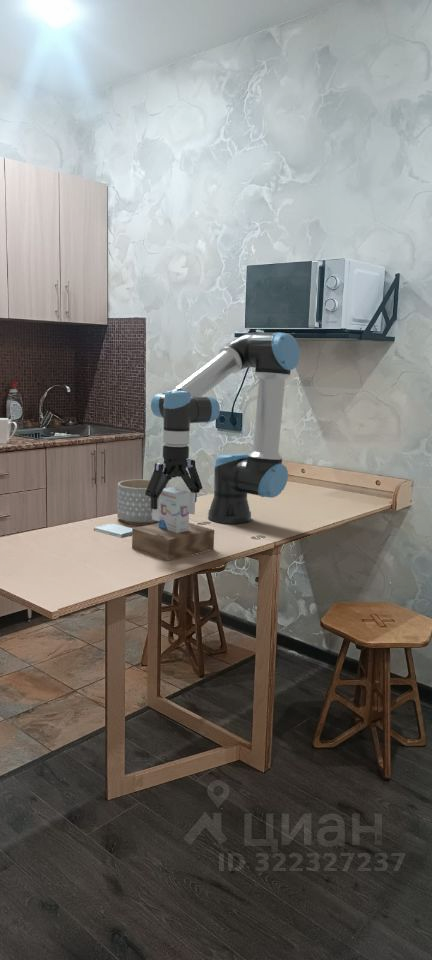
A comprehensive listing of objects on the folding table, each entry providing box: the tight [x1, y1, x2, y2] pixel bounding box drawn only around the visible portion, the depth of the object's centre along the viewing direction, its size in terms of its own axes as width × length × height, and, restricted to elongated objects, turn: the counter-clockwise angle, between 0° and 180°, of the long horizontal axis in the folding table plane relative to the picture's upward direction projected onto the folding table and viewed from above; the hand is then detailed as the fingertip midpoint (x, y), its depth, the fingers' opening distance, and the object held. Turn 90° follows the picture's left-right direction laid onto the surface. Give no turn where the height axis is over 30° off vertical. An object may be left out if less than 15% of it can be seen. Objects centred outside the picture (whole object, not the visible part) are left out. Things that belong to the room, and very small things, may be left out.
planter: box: [116, 479, 167, 526], centre depth 239 cm, size 16×16×13 cm
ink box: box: [158, 486, 190, 533], centre depth 205 cm, size 9×5×12 cm, turn 45°
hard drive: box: [93, 523, 133, 538], centre depth 224 cm, size 2×8×12 cm
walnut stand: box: [131, 522, 215, 562], centre depth 206 cm, size 18×16×6 cm
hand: (173, 516), depth 205 cm, fingers open, 13 cm apart
